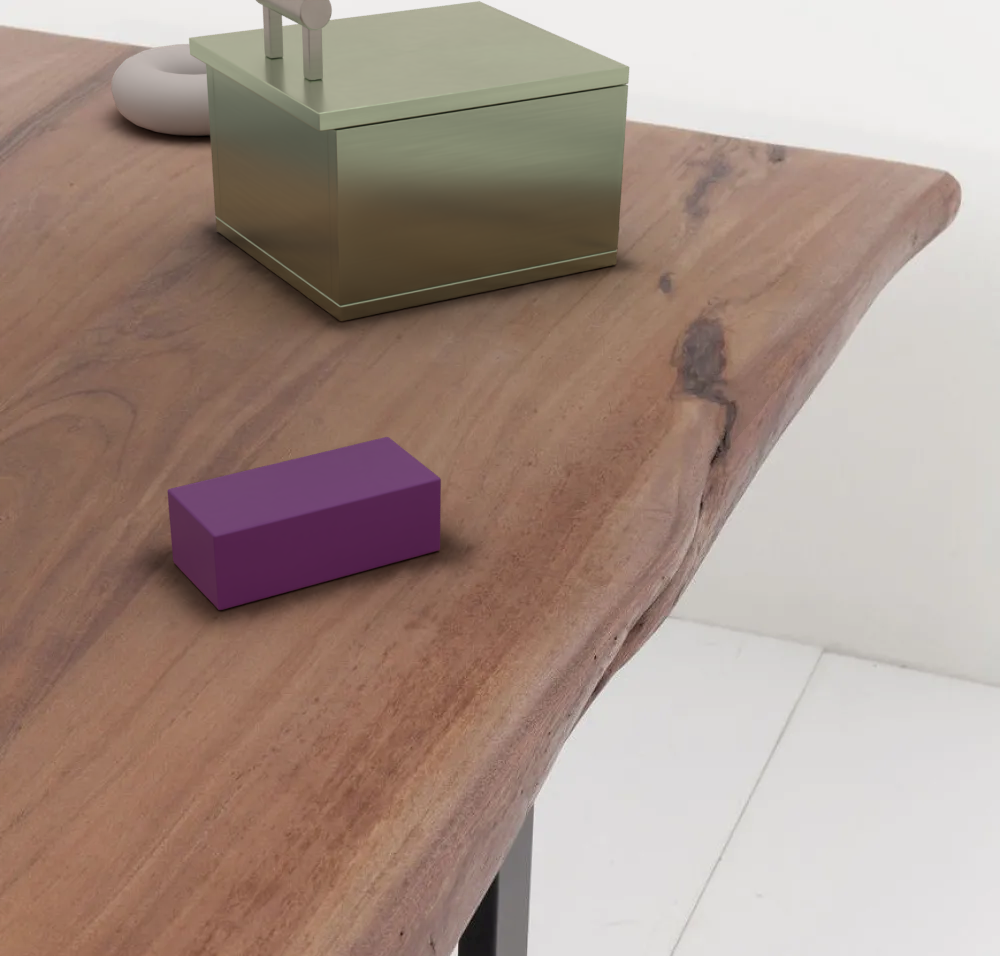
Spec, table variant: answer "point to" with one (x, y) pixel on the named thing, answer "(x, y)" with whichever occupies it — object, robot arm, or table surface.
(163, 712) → the table surface
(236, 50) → the green box lid
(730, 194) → the table surface
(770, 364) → the table surface
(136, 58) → the donut
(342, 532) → the purple rectangular block
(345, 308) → the green metal box
